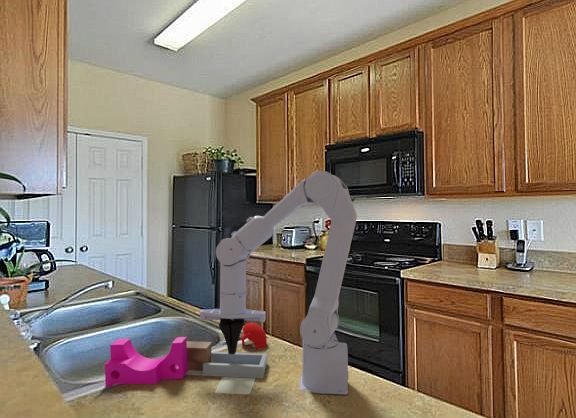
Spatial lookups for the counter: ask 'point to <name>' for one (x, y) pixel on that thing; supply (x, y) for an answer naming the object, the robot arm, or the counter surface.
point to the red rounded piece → (254, 335)
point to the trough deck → (234, 365)
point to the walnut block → (198, 354)
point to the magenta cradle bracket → (144, 364)
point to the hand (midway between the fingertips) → (232, 352)
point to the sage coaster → (235, 385)
